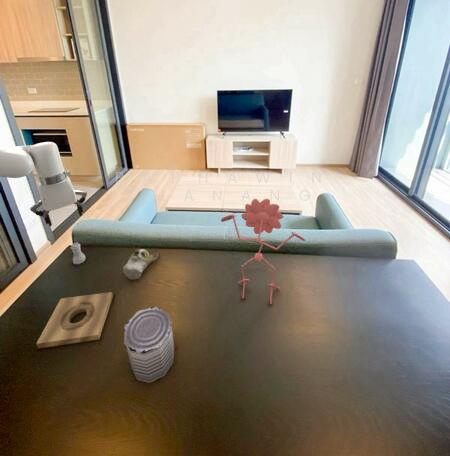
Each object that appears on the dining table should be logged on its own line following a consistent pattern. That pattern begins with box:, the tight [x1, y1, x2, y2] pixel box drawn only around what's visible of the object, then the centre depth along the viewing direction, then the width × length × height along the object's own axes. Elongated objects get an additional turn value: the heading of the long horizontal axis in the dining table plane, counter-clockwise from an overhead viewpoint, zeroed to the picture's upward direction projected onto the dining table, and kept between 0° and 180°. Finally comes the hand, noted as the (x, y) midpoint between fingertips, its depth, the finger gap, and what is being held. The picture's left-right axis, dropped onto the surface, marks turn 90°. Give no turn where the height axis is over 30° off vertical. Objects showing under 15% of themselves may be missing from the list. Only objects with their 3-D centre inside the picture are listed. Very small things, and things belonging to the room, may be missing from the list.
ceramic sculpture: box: [122, 248, 161, 281], centre depth 92 cm, size 11×9×15 cm
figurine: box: [220, 198, 306, 305], centre depth 80 cm, size 15×26×35 cm, turn 77°
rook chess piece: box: [70, 241, 87, 265], centre depth 96 cm, size 4×4×8 cm
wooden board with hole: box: [35, 291, 114, 350], centre depth 75 cm, size 16×14×2 cm
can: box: [123, 306, 175, 384], centre depth 63 cm, size 11×11×12 cm
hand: (65, 219), depth 91 cm, fingers open, 9 cm apart
